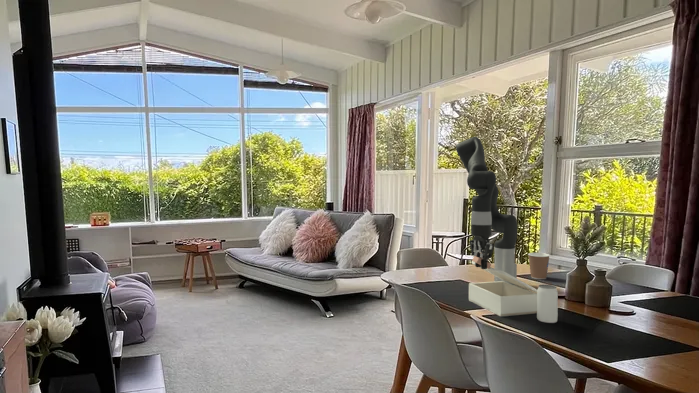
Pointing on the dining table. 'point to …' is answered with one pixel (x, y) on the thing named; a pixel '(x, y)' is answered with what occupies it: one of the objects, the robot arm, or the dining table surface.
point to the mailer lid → (503, 275)
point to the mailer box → (503, 298)
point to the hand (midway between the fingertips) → (481, 267)
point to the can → (547, 303)
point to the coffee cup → (538, 265)
